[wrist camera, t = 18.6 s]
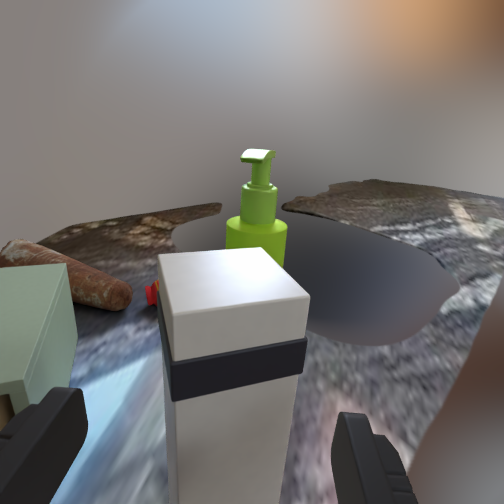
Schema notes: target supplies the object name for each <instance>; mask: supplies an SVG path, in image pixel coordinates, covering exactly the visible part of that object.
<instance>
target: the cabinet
mask: <svg viewBox="0 0 504 504" xmlns="http://www.w3.org/2000/svg"><path fill="white" fill-rule="evenodd" d="M77 340H78V334H77V327H76V321H75V315H74V309H73V303H72V297H71V291H70V285H69V278H68V272H67V266H66V263H59V264H46V265H32V266H19V267H5V268H0V395H4V394H9V395H10V399H11V402H12V406H13V409H14V413H15V415H16V414H18V413H19V412H21V411H22V410H23V409H25V408H26V407H28V406H29V405H30V404H39V403H40V402H41V400H42V399H43V398H44V397H45V395H46V394H47V393H48V392H49V391H50V390H51V389H52V388H53V387H69V382H70V376H71V371H72V366H73V361H74V356H75V351H76V345H77Z"/></svg>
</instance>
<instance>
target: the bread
mask: <svg viewBox="0 0 504 504" xmlns="http://www.w3.org/2000/svg"><path fill="white" fill-rule="evenodd" d="M59 263H66V266H67V272H68V278H69V285H70V291H71V297H72V302H76V303H79V304H84V305H88V306H93V307H96V308H101V309H105V310H111V311H118V310H121V309H125V308H126V307H128V305H129V304H130V303H131V301H132V295H133V292H132V287H131V286H130V285H129V284H128V283H126V282H124V281H120V280H118V279H116V278H114V277H112V276H110V275H108V274H106V273H104V272H101V271H99V270H97V269H95V268H92V267H90V266H87V265H85V264H83V263H81V262H78V261H76V260H74V259H72V258H69V257H67V256H65V255H62V254H60V253H58V252H55V251H53V250H50V249H48V248H46V247H43V246H41V245H38V244H35V243H31V242H29V241H27V240H23V239H18V240H13V241H10V242H8V243H7V245H6V246H5V247H3V248H2V250H1V252H0V268H5V267H19V266H32V265H46V264H59Z"/></svg>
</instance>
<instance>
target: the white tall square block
mask: <svg viewBox="0 0 504 504" xmlns="http://www.w3.org/2000/svg"><path fill="white" fill-rule="evenodd" d="M158 277H159V290H158V291H157V309H158V323H159V329H160V335H161V341H162V360H163V381H164V402H165V423H166V443H167V464H168V485H169V504H279V500H280V493H281V486H282V480H283V473H284V467H285V460H286V454H287V447H288V440H289V434H290V427H291V421H292V414H293V408H294V401H295V394H296V388H297V381H298V375H299V374H301V373H302V372H303V367H304V360H305V354H306V348H307V341H308V340H307V338H306V336H305V329H306V321H307V315H308V309H309V302H310V295H309V294H308V293H307V292H306V291H305V290H304V289H303V288H302V287H301V286H300V285H299V284H298V283H297V282H296V281H295V280H294V279H292V277H291V276H290V275H288V273H286V271H284V269H283V268H282V267H281V266H280V265H279V264H278V263H277V262H276V261H275V260H274V259H272V258H271V257H270V256H269V255H268V254H267V253H266V252H265V251H264V250H263V249H262V248H261V247H257V248H243V249H229V250H215V251H203V252H202V251H201V252H188V253H173V254H159V255H158Z"/></svg>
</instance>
